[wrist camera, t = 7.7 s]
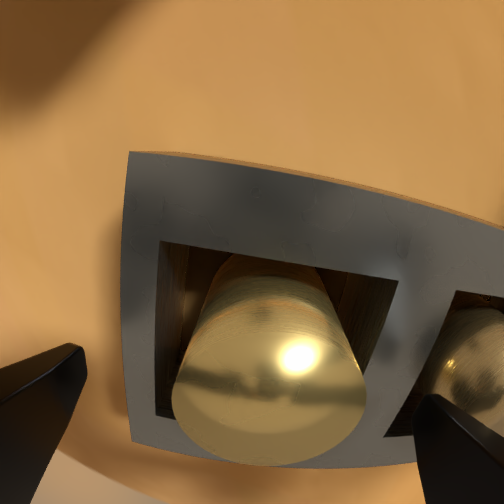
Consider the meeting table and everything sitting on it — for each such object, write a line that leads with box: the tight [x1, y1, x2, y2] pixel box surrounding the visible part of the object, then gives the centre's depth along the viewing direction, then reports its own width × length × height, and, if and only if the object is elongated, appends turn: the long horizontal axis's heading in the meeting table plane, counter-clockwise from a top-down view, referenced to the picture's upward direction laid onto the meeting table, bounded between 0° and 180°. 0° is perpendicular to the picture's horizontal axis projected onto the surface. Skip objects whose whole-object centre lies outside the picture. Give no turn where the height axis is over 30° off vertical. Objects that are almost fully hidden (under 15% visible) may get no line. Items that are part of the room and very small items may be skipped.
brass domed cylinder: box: [172, 253, 367, 466], centre depth 9 cm, size 4×4×6 cm
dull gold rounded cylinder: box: [416, 290, 504, 437], centre depth 9 cm, size 4×4×6 cm
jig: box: [120, 151, 504, 469], centre depth 10 cm, size 16×10×4 cm, turn 80°
